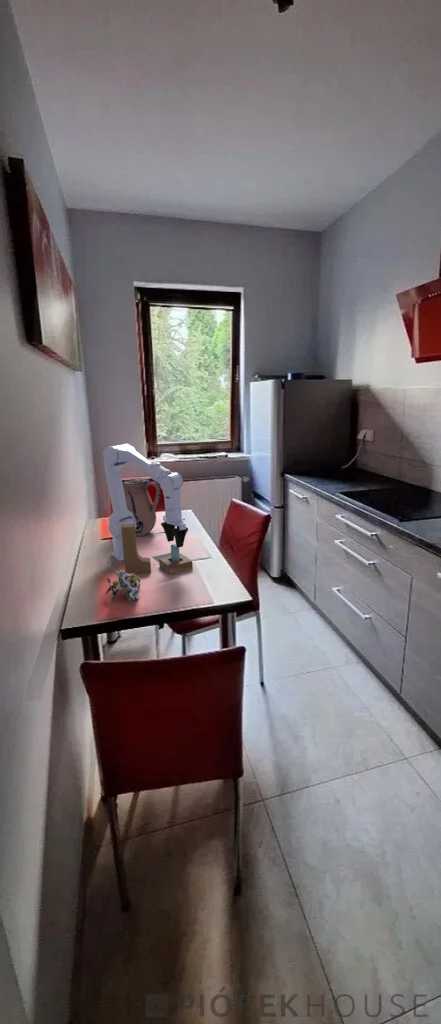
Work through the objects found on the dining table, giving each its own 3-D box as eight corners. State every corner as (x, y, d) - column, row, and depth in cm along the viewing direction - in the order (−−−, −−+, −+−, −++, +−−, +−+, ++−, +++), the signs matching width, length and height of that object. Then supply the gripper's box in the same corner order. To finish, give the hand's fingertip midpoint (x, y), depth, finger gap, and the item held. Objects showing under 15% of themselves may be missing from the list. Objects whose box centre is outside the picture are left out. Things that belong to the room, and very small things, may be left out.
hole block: (159, 567, 157) (159, 558, 156) (181, 562, 161) (181, 553, 160) (170, 575, 149) (169, 566, 148) (192, 569, 154) (192, 560, 153)
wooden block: (150, 568, 156) (147, 522, 151) (151, 573, 152) (147, 525, 147) (125, 571, 154) (121, 524, 149) (125, 576, 150) (121, 527, 145)
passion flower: (137, 615, 134) (139, 596, 125) (102, 612, 132) (102, 593, 124) (141, 583, 142) (143, 564, 133) (107, 580, 140) (108, 560, 131)
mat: (152, 558, 166) (152, 557, 166) (170, 553, 170) (170, 552, 170) (160, 564, 160) (160, 563, 159) (179, 559, 164) (179, 558, 163)
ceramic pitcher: (126, 527, 205) (121, 476, 199) (168, 528, 202) (165, 476, 196) (112, 539, 189) (106, 484, 182) (158, 540, 186) (154, 484, 179)
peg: (170, 568, 156) (169, 545, 153) (178, 566, 157) (176, 543, 155) (174, 571, 153) (172, 547, 151) (181, 569, 155) (180, 545, 152)
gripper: (192, 510, 146) (194, 547, 149) (174, 501, 158) (176, 536, 161) (174, 513, 142) (176, 551, 146) (156, 504, 154) (159, 540, 158)
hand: (175, 543), depth 153 cm, fingers open, 7 cm apart
